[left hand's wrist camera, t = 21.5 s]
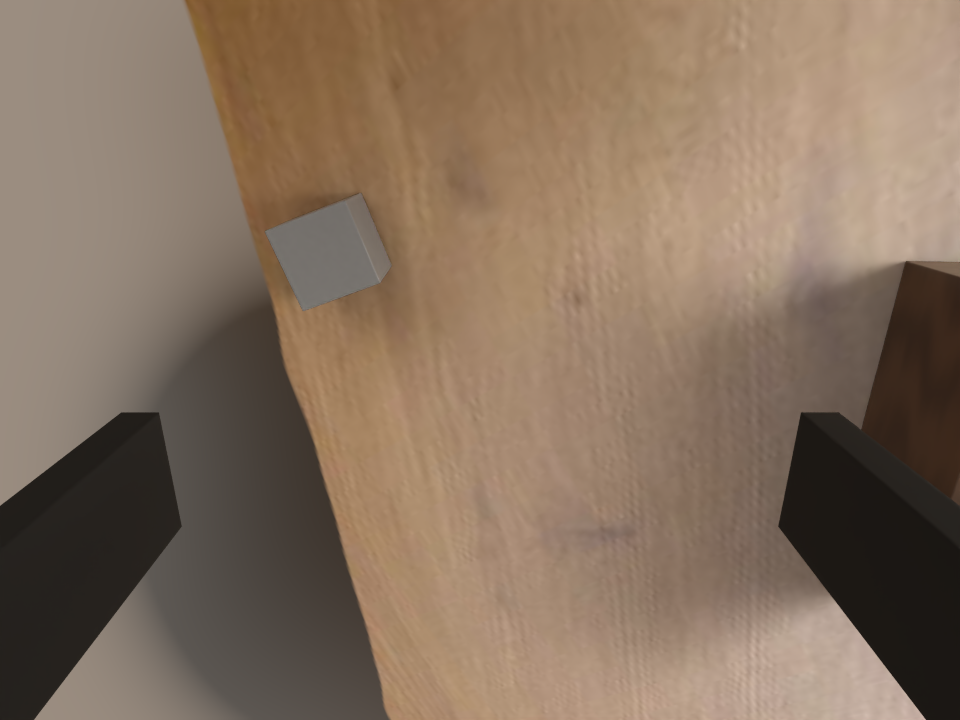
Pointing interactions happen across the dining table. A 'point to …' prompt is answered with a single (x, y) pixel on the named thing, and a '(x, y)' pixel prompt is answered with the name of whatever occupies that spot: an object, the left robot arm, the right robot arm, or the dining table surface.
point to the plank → (922, 376)
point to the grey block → (330, 252)
